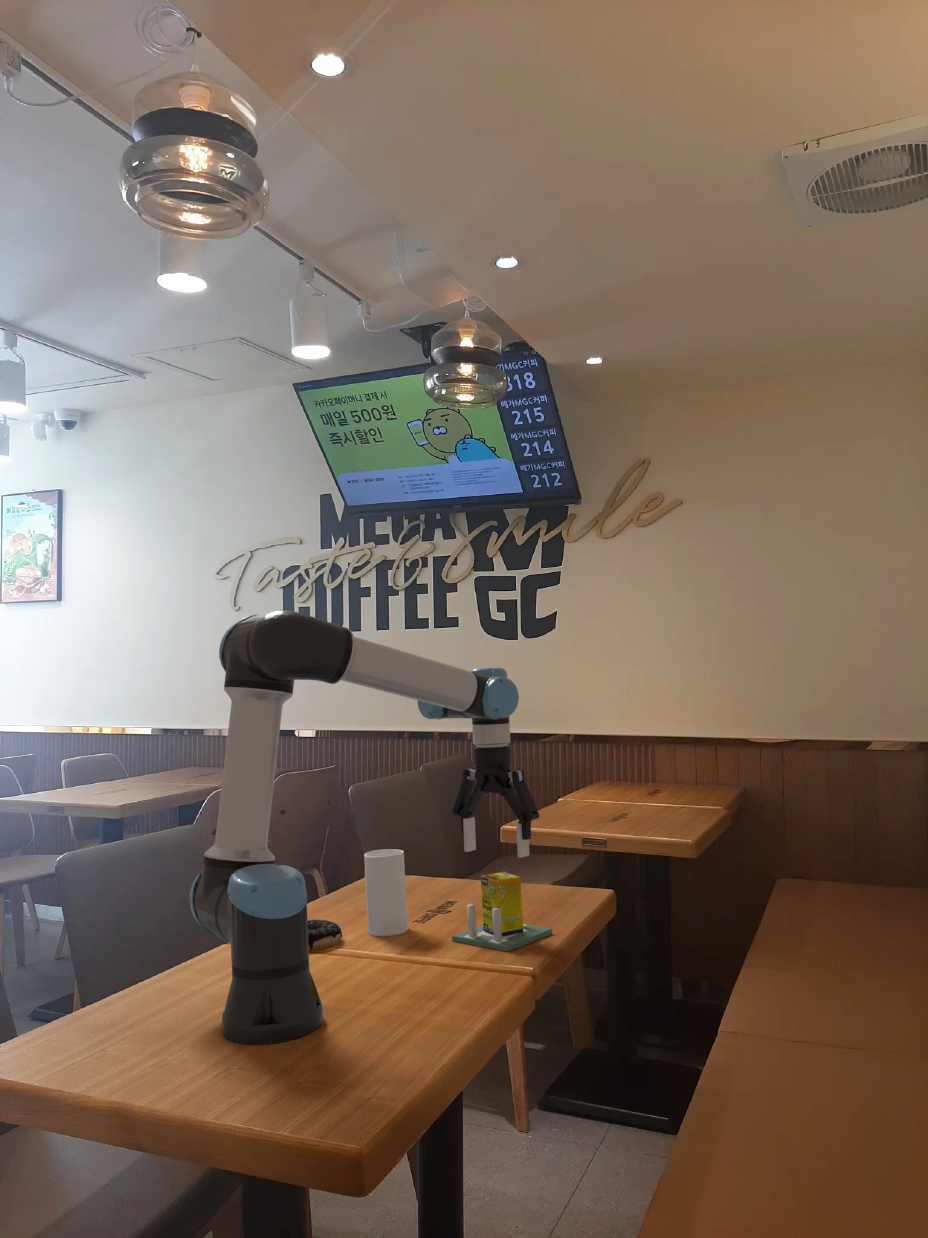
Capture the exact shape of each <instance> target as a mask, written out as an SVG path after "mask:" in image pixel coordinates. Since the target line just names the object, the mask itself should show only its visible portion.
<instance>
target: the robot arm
mask: <svg viewBox="0 0 928 1238" xmlns="http://www.w3.org/2000/svg"><path fill="white" fill-rule="evenodd" d="M221 638H222V639H221V641H220V645H219V648H218V649H219V650H218V655H219V656H218V657H219V661H220V665H221V667H222V669H223V671H224V672H225V676H224V684H223V690H224V692H225V693H226V695H227V696H228V697H229V698H230V701H231V703H230V713H229V714H230V715H229V721H228V730H227V736H226V738H227V739H226V745H225V746H226V748H225V754H224V764H223V772H222V781H221V789H220V797H219V806H218V808H219V809H218V815H217V823H216V830H215V831H216V832H215V838H214V839H215V841H214V843H213V845H212V846H211V847H210V848H209V849H208V850H206V851H205V852H204V854H203V863H202V869H201V871H200V872H199V874H197V876H195V878H194V880H193V882H192V884H191V888H190V891H189V908H190V911H191V914H192V916H193V918H194V919H195V921H196V922H197V924H199V926H200V927H202V929H204V930H205V932H207V933H208V934H210V935H211V936H213V937H216V938H219V939H221V940H224V941H226V942H228V943H230V956H231V981H230V987H229V990H228V994H227V998H226V1002H225V1006H224V1011H223V1013H222V1017H221V1030H222V1031H221V1032H222V1035H223V1037H224V1038H226V1039H228V1040H229V1041H233V1042H236V1043H241V1044H250V1045H251V1044H252V1045H253V1044H254V1045H259V1044H272V1043H279V1042H284V1041H289V1040H293V1039H297V1038H301V1037H303V1036H305V1035H307V1034H310V1033H312V1032H314V1031H315V1030H316V1029H318V1028H319V1027H320V1026H321V1025H322V1024H323V1021H324V1013H323V1012H324V1009H323V1003H322V1000H321V998H320V995H319V993H318V989H317V987H316V984H315V981H314V979H313V977H312V973H311V970H310V957H309V955H310V953H309V952H310V951H309V949H308V921H309V920H308V892H307V887H306V881H305V877H304V875H303V873H301V872H300V870H298V869H296V868H294V867H292V866H289V865H284V864H280V865H278V864H277V863H275V861H276V856H275V855H274V854H273V853H272V852H271V851H270V849H269V847H268V842H269V841H268V840H269V834H270V833H269V832H270V823H271V813H272V805H273V804H272V803H273V796H274V788H275V786H274V785H275V780H276V779H275V777H276V767H277V759H278V750H279V741H280V731H281V722H282V712H283V706H284V704H285V703H286V702H287V701H288V700H289V699H291V698H292V697H293V696H294V695H293V694H294V687H295V681H296V680H297V681H299V680H301V681H305V680H306V681H318V682H324V683H326V684H331V685H335V684H337V683H339V682H340V681H342V682H347V683H351V684H353V685H358V686H363V687H366V688H369V689H374V690H377V691H382V692H385V693H389V694H392V695H396V696H400V697H404V698H408V699H412V700H416V701H417V702H416V703H417V708H418V710H419V713H420V714H421V715H422V717H423V718H425V719H428V720H442V719H443V720H444V719H445V720H446V719H471V725H472V744H473V745H475V746H474V748H473V750H472V752H473V765H474V766H475V768H467V769H463V773H462V781H461V785H460V788H459V791H458V794H457V796H456V799H455V801H454V805H453V808H452V814H453V815H457V816H459V818H460V827H461V829H460V830H461V834H463V845H464V846H463V847H464V848H463V849H464V853H465V852H467V853H469V852H472V851H476V850H477V845H476V843H477V841H476V840H477V839H476V818H475V817H474V814H473V813H474V811H475V810H476V809H477V807H478V806H479V803H480V802H481V801H482V800H483V797H484V796H485V794H489V793H492V794H499V795H500V796H501V797H503V798H504V800H505V801H506V803H507V804H508V806H509V807H510V809H511V810H512V811H513V813H514V815H515V816H516V818H517V819H518V822H516V825H515V827H516V845H517V858H519V859H521V858H525V857H528V856H530V839H531V838H532V822H533V821H535V820H538V819H539V818H540V813H539V811H538V809H537V806H536V804H535V801H534V798H533V797H532V794H531V793H530V790H529V787H528V786H527V783H526V779H525V772H524V770H523V769H522V770H521V769H520V770H519V769H518V770H514V771H511V767H510V765H511V764H512V748H511V747H510V745H508V744H509V743H511V729H510V728H511V726H510V724H511V723H510V716H512V715H513V713H515V711H516V710H517V707H518V704H519V699H520V697H519V696H520V695H519V690H518V688H517V686H516V684H515V683H514V681H512V680H511V679H510V678H508V674H507V673H508V672H507V670H506V669H505V668H502V667H489V668H487V667H486V668H484V667H483V668H473V669H471V670H470V671H469V670H467V669H463V668H461V667H460V668H459V667H458V666H457V667H456V666H453V665H451V664H447V663H443V662H441V661H437V660H432V659H430V658H426V657H423V656H419V655H416V654H414V653H413V654H412V653H409V652H406V651H403V650H400V649H397V648H393V647H390V646H386V645H383V644H379V643H377V642H373V641H371V640H370V641H369V640H366V639H364V638H359V637H357V636H354V634H353V632H352V630H351V629H350V628H348V627H345V626H341V625H339V624H335V623H332V622H329V621H326V620H324V619H321V618H318V617H314V616H311V615H308V614H305V613H302V612H298V611H294V610H288V609H287V610H284V609H283V610H275V611H271V612H266V613H262V614H252V615H249V616H246V617H244V618H242V619H240V620H238V621H237V622H235V623H233V624H232V625H231V626H230V627H229V628H228V629H227V630H226V631H225V633H224V635H223V637H221ZM475 781H477V783H476V782H475ZM511 782H512V783H511ZM474 785H475V786H474ZM472 790H473V791H472Z"/></svg>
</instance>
